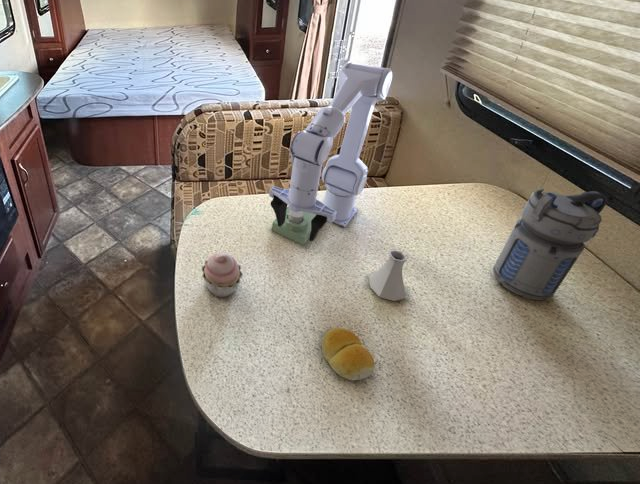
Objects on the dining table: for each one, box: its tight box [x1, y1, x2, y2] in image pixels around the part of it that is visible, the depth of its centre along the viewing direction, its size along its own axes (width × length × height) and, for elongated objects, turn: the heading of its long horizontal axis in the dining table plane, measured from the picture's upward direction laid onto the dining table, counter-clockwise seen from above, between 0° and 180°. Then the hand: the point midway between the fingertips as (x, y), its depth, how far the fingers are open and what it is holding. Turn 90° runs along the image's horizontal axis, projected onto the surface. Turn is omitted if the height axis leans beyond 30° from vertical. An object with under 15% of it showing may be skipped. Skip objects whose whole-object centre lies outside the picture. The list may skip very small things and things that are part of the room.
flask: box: [368, 249, 408, 302], centre depth 81 cm, size 7×7×10 cm
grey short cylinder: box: [288, 210, 303, 223], centre depth 98 cm, size 4×4×2 cm
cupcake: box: [201, 252, 244, 298], centre depth 83 cm, size 9×9×10 cm
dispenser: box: [271, 205, 316, 246], centre depth 101 cm, size 11×9×4 cm
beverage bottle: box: [492, 188, 609, 301], centre depth 77 cm, size 10×13×25 cm
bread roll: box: [321, 327, 376, 382], centre depth 69 cm, size 8×9×4 cm
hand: (296, 231), depth 86 cm, fingers open, 7 cm apart
